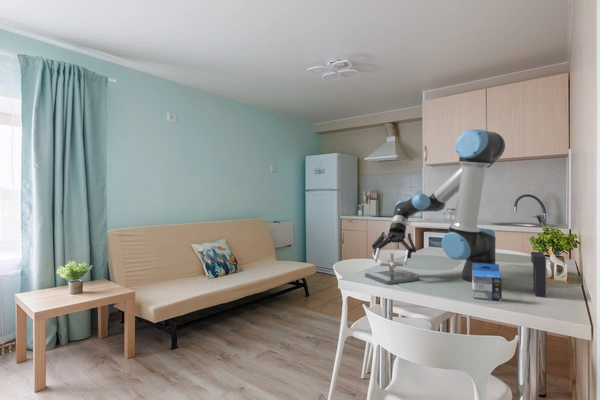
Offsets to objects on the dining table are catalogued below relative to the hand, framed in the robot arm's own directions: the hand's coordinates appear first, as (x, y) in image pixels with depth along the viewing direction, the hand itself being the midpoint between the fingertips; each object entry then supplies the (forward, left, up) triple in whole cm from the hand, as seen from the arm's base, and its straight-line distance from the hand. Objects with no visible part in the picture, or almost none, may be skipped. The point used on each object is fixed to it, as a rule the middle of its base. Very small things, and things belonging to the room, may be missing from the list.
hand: (390, 262), depth 148 cm
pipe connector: (+1, -2, -6) cm, 7 cm away
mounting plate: (+1, -2, -8) cm, 8 cm away
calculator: (-42, -37, -8) cm, 56 cm away
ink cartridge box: (-38, -13, -8) cm, 41 cm away
